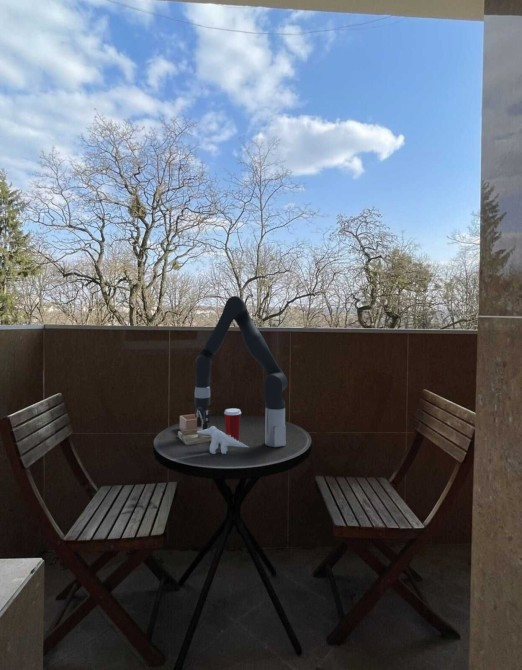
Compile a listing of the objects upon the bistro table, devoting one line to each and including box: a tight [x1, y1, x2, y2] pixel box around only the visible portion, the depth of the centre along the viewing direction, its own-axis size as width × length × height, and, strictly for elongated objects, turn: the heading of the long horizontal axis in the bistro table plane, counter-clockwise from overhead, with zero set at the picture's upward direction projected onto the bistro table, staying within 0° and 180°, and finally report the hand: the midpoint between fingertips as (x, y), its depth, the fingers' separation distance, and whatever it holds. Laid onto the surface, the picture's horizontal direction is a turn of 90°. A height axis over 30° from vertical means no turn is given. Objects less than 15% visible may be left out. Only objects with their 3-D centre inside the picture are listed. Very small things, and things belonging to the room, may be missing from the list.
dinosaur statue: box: [197, 425, 249, 455], centre depth 157 cm, size 7×24×11 cm, turn 84°
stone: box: [198, 428, 207, 437], centre depth 174 cm, size 4×4×4 cm
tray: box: [177, 429, 212, 446], centre depth 173 cm, size 14×14×4 cm
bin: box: [179, 413, 203, 431], centre depth 187 cm, size 11×11×8 cm
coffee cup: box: [223, 408, 242, 441], centre depth 172 cm, size 8×8×15 cm
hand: (201, 428), depth 175 cm, fingers open, 8 cm apart
